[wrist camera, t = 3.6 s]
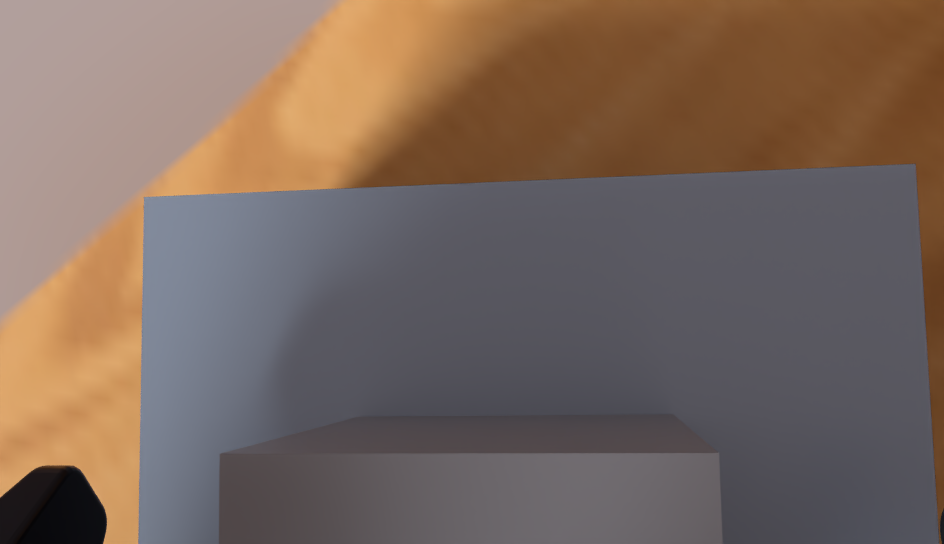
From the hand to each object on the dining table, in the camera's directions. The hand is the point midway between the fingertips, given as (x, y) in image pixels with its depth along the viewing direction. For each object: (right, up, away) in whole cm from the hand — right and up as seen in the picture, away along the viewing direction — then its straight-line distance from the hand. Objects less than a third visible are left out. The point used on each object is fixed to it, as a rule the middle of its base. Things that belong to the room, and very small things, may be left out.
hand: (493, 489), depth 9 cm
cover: (+1, -2, +8) cm, 8 cm away
